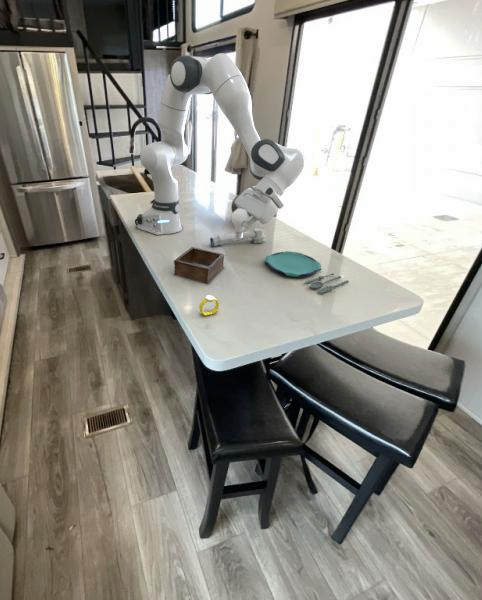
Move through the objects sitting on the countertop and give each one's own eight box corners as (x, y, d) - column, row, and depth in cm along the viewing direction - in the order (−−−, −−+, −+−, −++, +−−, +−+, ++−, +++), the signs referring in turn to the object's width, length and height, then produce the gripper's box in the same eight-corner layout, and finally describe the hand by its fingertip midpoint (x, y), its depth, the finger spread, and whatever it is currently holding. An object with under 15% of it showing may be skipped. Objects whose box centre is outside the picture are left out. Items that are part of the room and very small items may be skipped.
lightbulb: (226, 236, 117) (228, 207, 111) (241, 234, 119) (244, 205, 113) (235, 243, 112) (237, 212, 106) (250, 240, 115) (254, 210, 109)
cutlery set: (293, 252, 134) (294, 247, 133) (353, 284, 112) (354, 278, 111) (255, 262, 126) (256, 256, 125) (312, 298, 104) (313, 292, 103)
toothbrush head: (209, 235, 139) (262, 223, 142) (210, 249, 143) (262, 237, 146) (212, 239, 135) (267, 227, 138) (214, 253, 139) (267, 241, 142)
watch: (201, 318, 94) (202, 302, 91) (197, 313, 96) (198, 297, 93) (219, 314, 96) (220, 297, 93) (215, 309, 99) (216, 293, 95)
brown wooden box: (174, 274, 117) (173, 260, 114) (191, 260, 127) (192, 246, 124) (207, 284, 112) (208, 269, 108) (223, 268, 122) (224, 254, 119)
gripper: (247, 179, 116) (221, 208, 119) (277, 193, 100) (246, 227, 103) (256, 191, 120) (231, 219, 123) (287, 206, 104) (257, 238, 106)
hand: (238, 223), depth 113 cm, fingers closed on lightbulb, 6 cm apart
